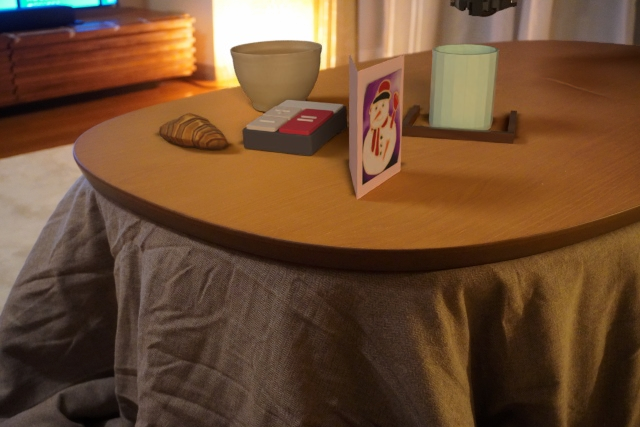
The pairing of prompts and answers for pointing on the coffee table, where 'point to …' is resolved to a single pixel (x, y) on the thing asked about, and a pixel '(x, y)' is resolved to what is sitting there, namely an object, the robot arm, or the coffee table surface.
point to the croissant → (193, 133)
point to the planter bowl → (276, 70)
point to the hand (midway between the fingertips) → (476, 7)
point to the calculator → (295, 127)
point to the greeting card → (375, 123)
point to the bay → (457, 130)
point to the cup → (463, 86)
